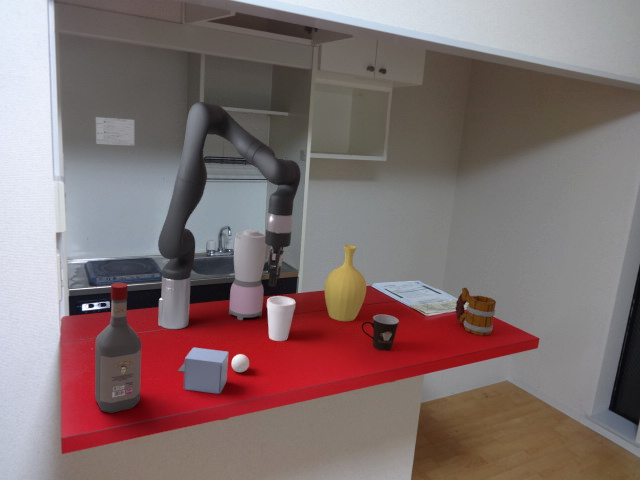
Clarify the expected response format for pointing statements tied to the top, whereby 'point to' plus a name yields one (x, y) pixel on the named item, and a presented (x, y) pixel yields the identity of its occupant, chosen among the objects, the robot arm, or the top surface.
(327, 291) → the vase
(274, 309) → the foam cup
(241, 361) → the ball
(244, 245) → the blender
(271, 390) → the top surface
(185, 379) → the periwinkle rectangular block
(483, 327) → the mug
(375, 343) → the coffee mug
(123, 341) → the liquor
